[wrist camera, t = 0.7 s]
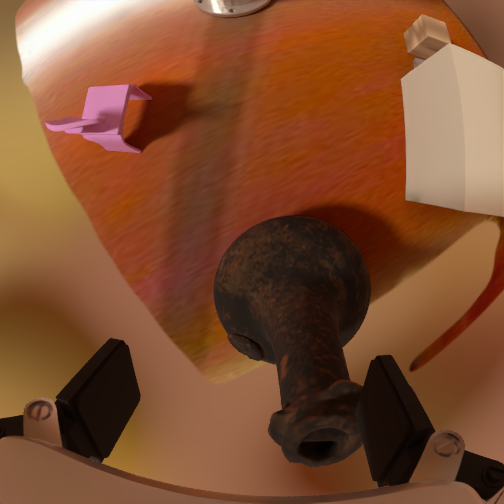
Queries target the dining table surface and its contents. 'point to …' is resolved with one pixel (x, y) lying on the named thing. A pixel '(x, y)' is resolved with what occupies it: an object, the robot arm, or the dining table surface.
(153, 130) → the dining table surface
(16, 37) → the dining table surface
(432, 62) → the white box on stand
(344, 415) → the glass bottle
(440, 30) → the tool
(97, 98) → the toy chair
